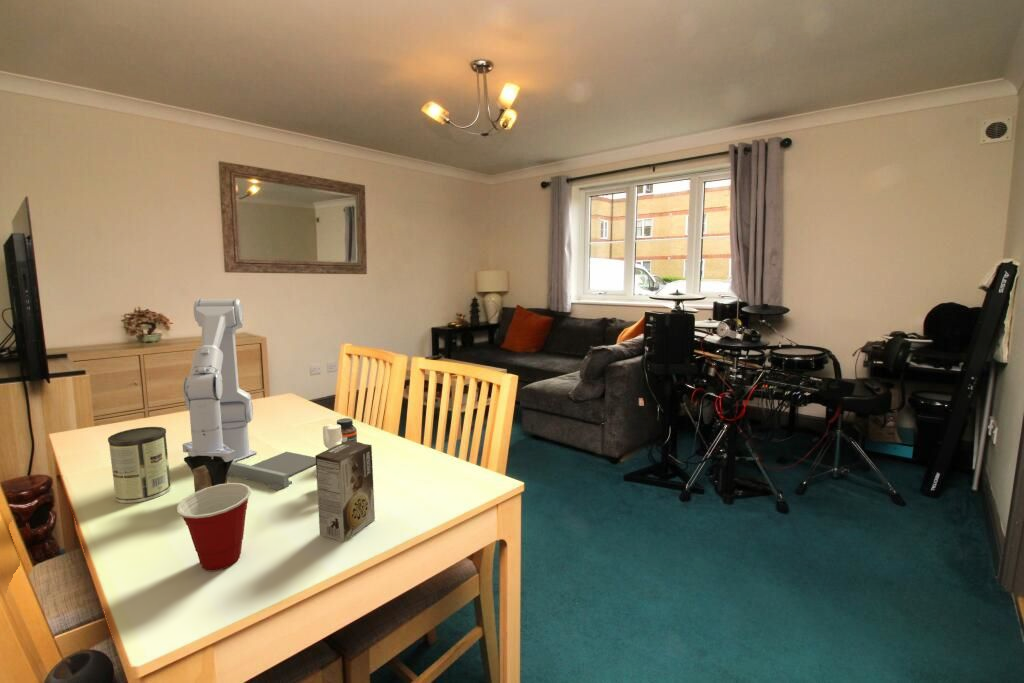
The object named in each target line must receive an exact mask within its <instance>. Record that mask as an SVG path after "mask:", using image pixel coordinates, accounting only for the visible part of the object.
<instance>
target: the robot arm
mask: <svg viewBox="0 0 1024 683" xmlns="http://www.w3.org/2000/svg"><path fill="white" fill-rule="evenodd" d="M193 316H194V320H195V321H196V323H197V325H198V326H199V327H201V339H200V341H201V342H200V347H198V348H196V349H195V350H194V351H193V357H192V361H191V367H190V372H189V376H188V377H185V378H184V380H183V386H182V391H183V392H182V393H183V398H184V401H185V404H186V410H188V411H189V422H190V434H191V441H188V442H184V443H182V445H181V446H182V452H183V453H186V454H187V456H186V457H184V458H183V461H184V462H185V464H187V466H188V468H190V470H191V472H192V473H193V469H195V468H198V467H201V466H203V465H205V466H206V468H207V470H208V472H209V474H210V478H211V483H212V486H215V485H219V484H225V481H226V476H227V473H228V470H229V467H230V465H231V463H232V462H237V461H240V460H243V459H246V458H247V457H251V456H254V455H256V454H258V451H256V450H251V449H250V440H249V438H250V436H249V425H248V423H251V422H252V421H253V419H254V404H253V401H252V400H253V399H252V396H251V394H250V393H249V392H247V391H245V390H243V389H242V388H240V385H239V384H240V383H239V373H238V372H239V371H238V358H237V345H236V344H237V342H236V333H237V330H239V329H241V328H243V325H244V314H243V303H242V301H241V300H240V299H239V298H234V299H233V298H228V299H227V298H226V299H224V298H223V299H222V298H220V299H219V298H217V299H215V298H213V299H208V298H207V299H201V298H197V299H196V301H194V304H193ZM227 477H228V476H227Z"/></svg>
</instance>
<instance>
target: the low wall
mask: <svg viewBox="0 0 1024 683" xmlns="http://www.w3.org/2000/svg"><path fill="white" fill-rule="evenodd" d="M228 476H233V477H237V478H241V479H245V480H249V481H253V482H257V483H262V484H266V485H268V488H269V489H272V490H277V491H280V490H282V489H286V488H287V487H289V486H290V485H293V481H292V480H289V478H288V474H286V473H281V472H277V471H272V470H268V469H263V468H259V467H255V466H252V465H249V464H247V463H240V462H237V461H235V462H232V463H231V465H230V467H229V470H228V473H227V477H228Z"/></svg>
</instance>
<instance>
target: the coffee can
mask: <svg viewBox="0 0 1024 683" xmlns="http://www.w3.org/2000/svg"><path fill="white" fill-rule="evenodd" d="M107 442H108V444H109V452H110V453H109V454H110V463H111V470H112V478H113V488H114V496H115V498H114V500H115V502H117V503H120V504H133V503H134V504H135V503H142V502H146V501H149V500H154V499H156V498H158V497H161V496H163V495H166V494H167V493H168V492H170V490H171V489H172V484H171V483H172V482H171V474H170V465H169V457H168V455H169V454H168V444H167V429H166V428H165V427H162V426H161V427H160V426H146V427H145V426H144V427H137V428H131V429H127V430H123V431H119V432H116V433H114V434H112V435H110V436H108V438H107Z"/></svg>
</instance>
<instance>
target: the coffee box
mask: <svg viewBox="0 0 1024 683" xmlns="http://www.w3.org/2000/svg"><path fill="white" fill-rule="evenodd" d="M372 445H373V444H368V443H367V444H366V443H363V442H358V441H357V442H354V441H345V442H343V443H341V444H339V445H337V446H335V447H333V448H330V449H328V448H327V449H326V450H324V451H322V452H320V453H317V454H316V455H315V456H314V457H316V465H315V470H316V473H317V475H316V490H317V508H318V524H319V527H318V528H319V535H320V536H322V537H327V538H330V539H333V540H336V541H341V542H346V541H347V540H350V538H352V537H353V536H354V535H356V534H357V533H358V532H360V531H361V530H362V529H363V528H365V527H366V526H368V525H370V524H371V523H372V522H373V521H375V519H376V515H375V512H376V511H375V495H374V494H375V493H374V492H375V491H374V473H373V471H374V470H373V469H374V468H373V466H374V465H373V449H372ZM316 473H315V474H316Z"/></svg>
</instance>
